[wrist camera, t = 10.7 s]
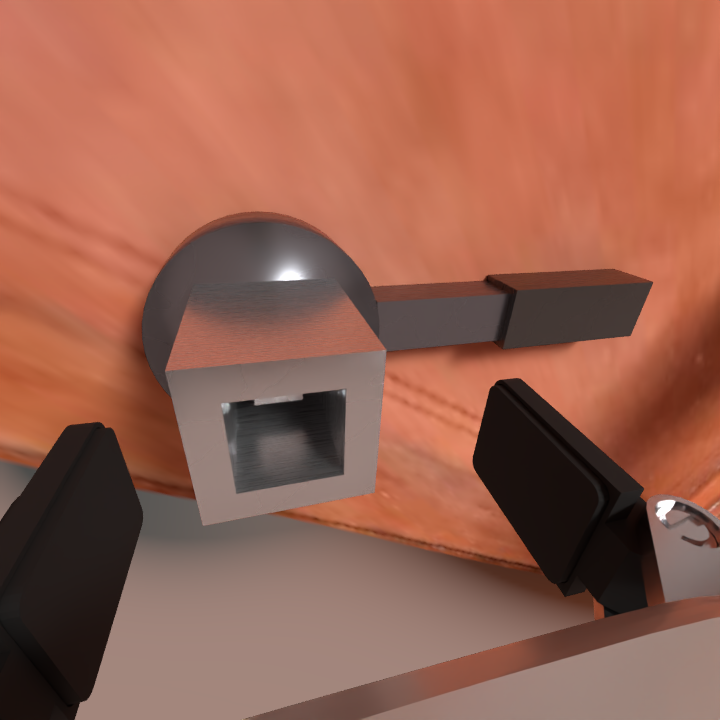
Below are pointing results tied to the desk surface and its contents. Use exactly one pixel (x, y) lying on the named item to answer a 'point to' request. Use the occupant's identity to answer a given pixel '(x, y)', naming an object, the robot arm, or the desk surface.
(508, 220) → the desk surface
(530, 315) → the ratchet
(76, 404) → the desk surface
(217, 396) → the socket
